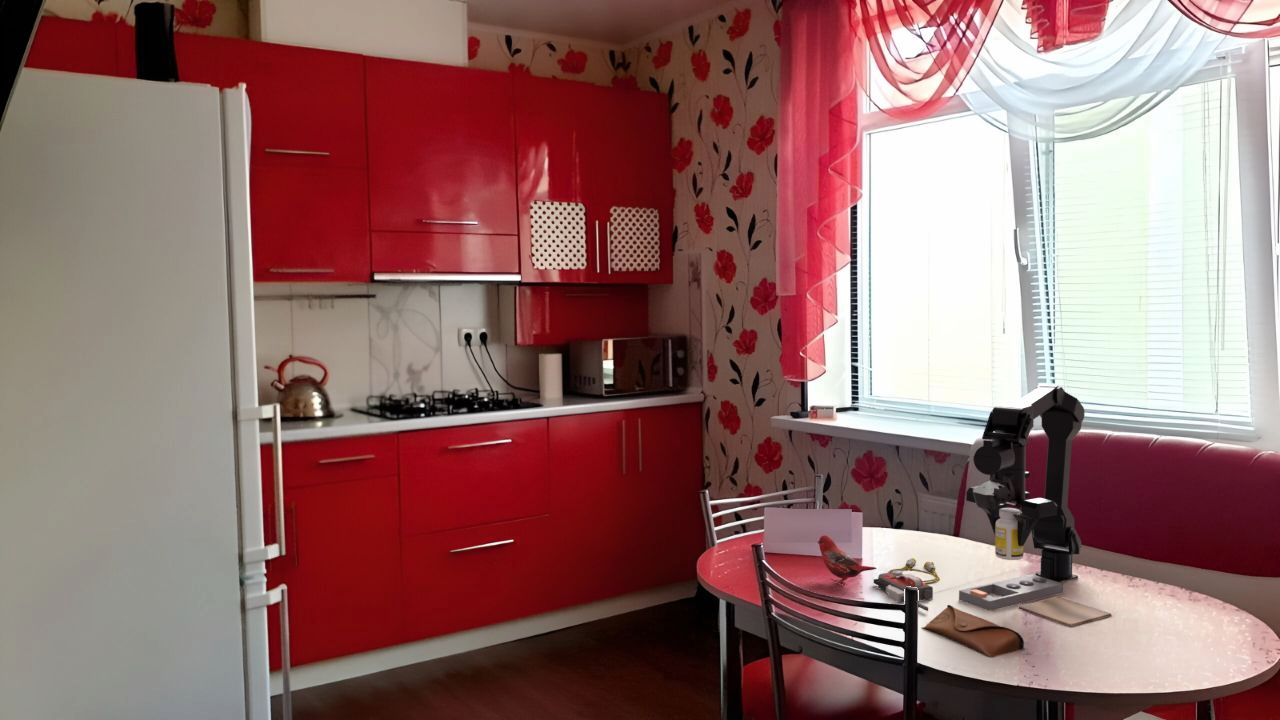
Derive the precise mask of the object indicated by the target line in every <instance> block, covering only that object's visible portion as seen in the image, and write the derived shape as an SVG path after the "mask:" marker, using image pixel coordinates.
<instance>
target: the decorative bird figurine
mask: <svg viewBox="0 0 1280 720" xmlns="http://www.w3.org/2000/svg"><path fill="white" fill-rule="evenodd" d="M817 544H818V545H819V550H820V553H821V558H822V561H823V563H824V565H825V567H826V568H827V569H828V571H829V572H830V573H831V574H832V575H834V576H836V577H838V578H839V580H838V579H833V578H830V580H831V581H833V582H834V583H835V582H837V583H840V584H839V585H842V584H843V585H842V586H848V584H847V583H846V582H845V581H846V580H847V579H849V578H855V577H857V576H858V575H859V574H861V573H862V572H866V571H867V572H868V571H872V570H874V571H875V570H878V569H877V567H876V566H875V567H874V566H867V565H861V564H859V562H858V561H856V559H854V558H853V557H852V556H850V555H849V554H848V553H846V552H845V551H843V550H842V549H841V548H839V547H838V545H837V544H836V543H835V541H834V540H833V539H832V538H831V537H829V535H826V534H823V535H822V536H820V537H819V540H818V541H817ZM837 583H836V584H837Z"/></svg>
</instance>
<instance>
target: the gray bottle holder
mask: <svg viewBox="0 0 1280 720" xmlns="http://www.w3.org/2000/svg"><path fill="white" fill-rule="evenodd" d="M992 594H994V595H997V596H999V597H994V596H991V595H992ZM1061 594H1064V583H1063V582H1056V581H1053V580H1050V579H1047V578H1043V577H1040V576H1037V575H1035V573H1034V574H1033V573H1031V574H1026V575H1022V576H1021V575H1020V576H1016V577H1013V578H1009V579H1004V580H1000V581H994V582H990V583H986V584H982V585H978V586H973V587H968V588H964V589H959V590H958V601H961V602H963V603H967V604H969V605H971V606H974V607H977V608H981V609H983V610H986V611H988V612H991V611H995V610H999V609H1004V608H1008V607H1012V606H1016V605H1020V604H1024V603H1028V602H1032V601H1035V600H1036V601H1037V600H1041V599H1045V598H1049V597H1054V596H1056V595H1061Z"/></svg>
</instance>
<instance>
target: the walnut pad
mask: <svg viewBox="0 0 1280 720" xmlns="http://www.w3.org/2000/svg"><path fill="white" fill-rule="evenodd" d="M1018 610H1021V611H1023V612H1025V613H1026V612H1027V613H1028V614H1029V613H1030V614H1032V615H1035V616H1038V617H1041V618H1043V619H1046V620H1049V621H1053V622H1055V623H1058V624H1061V625H1064V626H1067V627H1068V628H1069V627H1070V628H1071V627H1075V626H1079V625H1083V624H1087V623H1090V622H1094V621H1097V620H1098V621H1099V620H1100V619H1104V618H1108V617H1112V613H1111V612H1108V611H1106V610H1102V609H1099V608H1095V607H1092V606H1090V605H1087V604H1084V603H1080V602H1077V601H1074V600H1071V599H1068V598H1065V597H1062V596H1055V597H1050V598H1047V599H1044V600H1043V599H1042V600H1039V601H1035V602H1031V603H1027V604H1022V605H1018Z"/></svg>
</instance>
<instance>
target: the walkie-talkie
mask: <svg viewBox="0 0 1280 720" xmlns="http://www.w3.org/2000/svg"><path fill="white" fill-rule="evenodd" d="M922 581H923V580H922V579H921V578H920V577H918V576H915V575H914V574H911V573H905V574H904V573H903V571H894V572H891V573H888V572H885V573H879V575H878V577H877V578H875V579H873V584H874V585H877V588H878V589H879V588H880V590H882V591H884V592H886V593H887V597H888V598H889V599H891V600H893V601H895V602H896V603H898V604H902V603H905V602H904V589H905V587H906V586H911V587H917V588H918V590H919V601H918V608H917V609H919V608H920V609H922V610H923V611H926V612H928V611H929V607H928V606H926V605H924V604H922V603H920V601H926V600H927V601H929V600H933V598H934V596H933V595H934V593H933V592H934V587H933V586H932V585H930V584H925V583H926V582H922Z"/></svg>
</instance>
